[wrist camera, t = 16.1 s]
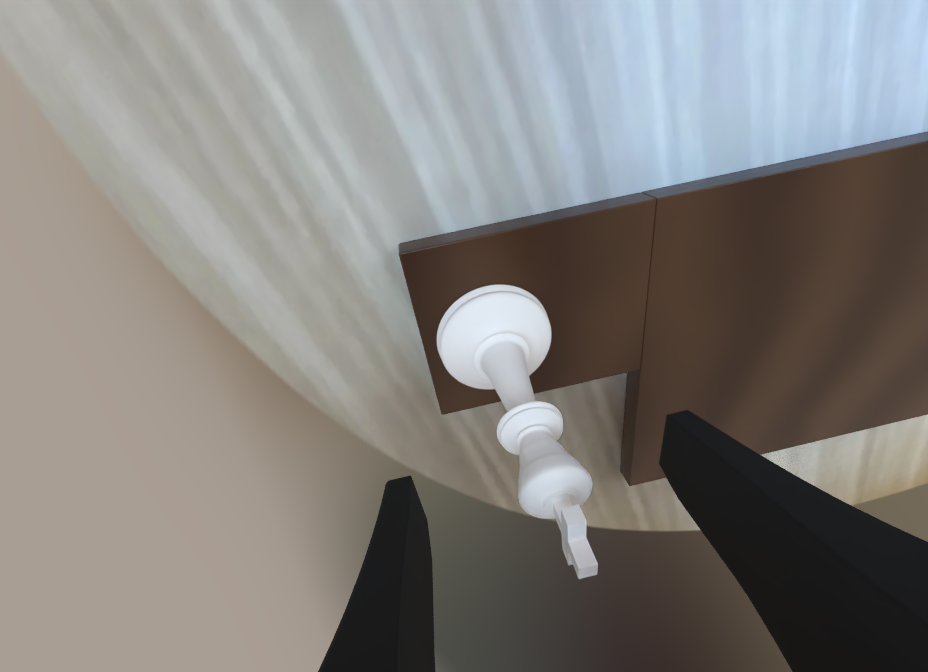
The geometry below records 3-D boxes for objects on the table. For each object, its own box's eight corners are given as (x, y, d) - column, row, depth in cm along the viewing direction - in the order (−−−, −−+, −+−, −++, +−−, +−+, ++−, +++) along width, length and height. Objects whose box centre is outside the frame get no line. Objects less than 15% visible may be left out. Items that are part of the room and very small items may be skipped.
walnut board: (468, 507, 25) (471, 524, 24) (398, 243, 16) (398, 253, 15) (939, 394, 26) (960, 406, 25) (1135, 87, 17) (1183, 86, 16)
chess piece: (447, 391, 18) (492, 644, 10) (425, 297, 16) (461, 534, 7) (550, 369, 19) (679, 598, 10) (545, 272, 16) (715, 475, 8)
